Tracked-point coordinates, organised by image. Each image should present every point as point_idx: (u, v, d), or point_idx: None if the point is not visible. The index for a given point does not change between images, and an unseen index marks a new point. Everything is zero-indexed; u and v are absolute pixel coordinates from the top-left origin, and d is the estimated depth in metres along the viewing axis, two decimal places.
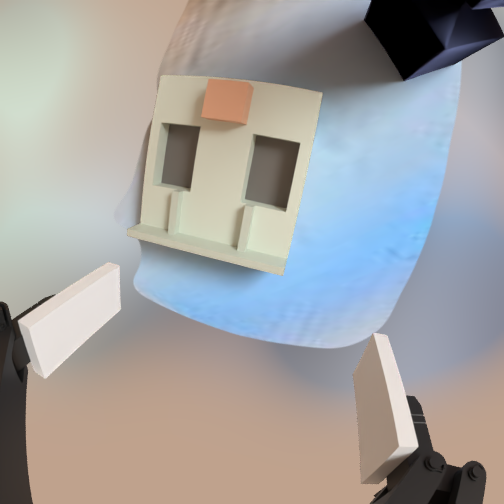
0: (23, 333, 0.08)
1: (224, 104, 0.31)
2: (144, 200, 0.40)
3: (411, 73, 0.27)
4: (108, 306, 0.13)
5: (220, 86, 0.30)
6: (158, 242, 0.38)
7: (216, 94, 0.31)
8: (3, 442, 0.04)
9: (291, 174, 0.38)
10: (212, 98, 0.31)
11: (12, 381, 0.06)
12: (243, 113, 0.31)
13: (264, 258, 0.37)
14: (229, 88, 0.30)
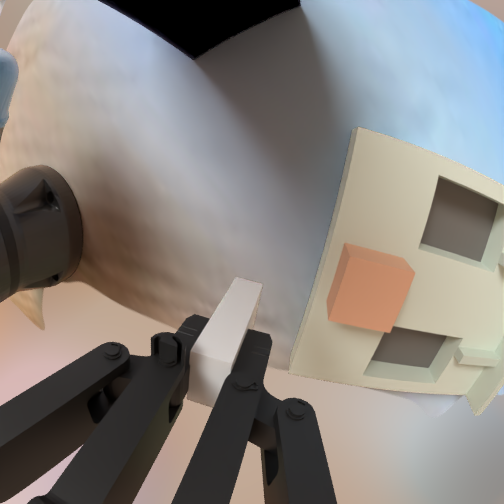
0: (194, 363, 0.10)
1: (380, 298, 0.19)
2: (446, 391, 0.24)
3: None
4: None
5: (346, 302, 0.19)
6: None
7: (359, 310, 0.19)
8: (116, 491, 0.04)
9: (463, 192, 0.20)
10: (365, 315, 0.19)
11: (159, 425, 0.07)
12: (400, 266, 0.18)
13: None
14: (354, 289, 0.19)
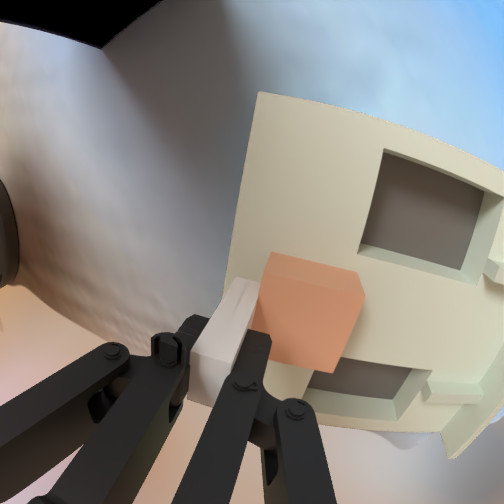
0: (194, 363, 0.10)
1: (313, 329, 0.14)
2: (413, 429, 0.19)
3: None
4: None
5: None
6: (488, 422, 0.14)
7: (284, 343, 0.15)
8: (117, 491, 0.04)
9: (431, 175, 0.15)
10: (294, 350, 0.15)
11: (159, 425, 0.07)
12: (343, 286, 0.14)
13: None
14: (275, 317, 0.14)
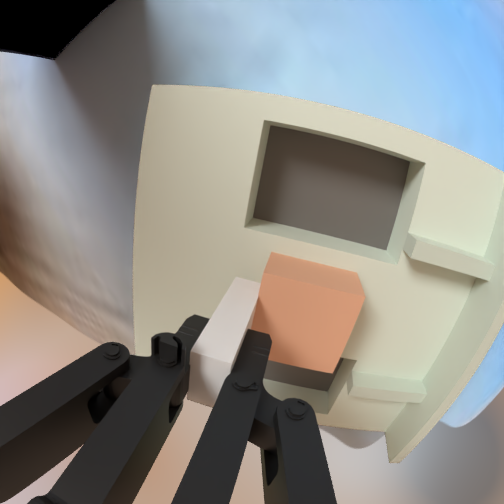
0: (194, 363, 0.10)
1: (313, 329, 0.14)
2: (350, 425, 0.20)
3: None
4: None
5: None
6: (432, 425, 0.14)
7: (284, 344, 0.15)
8: (116, 491, 0.04)
9: (338, 147, 0.16)
10: (294, 350, 0.15)
11: (159, 425, 0.07)
12: (343, 287, 0.14)
13: None
14: (275, 317, 0.14)
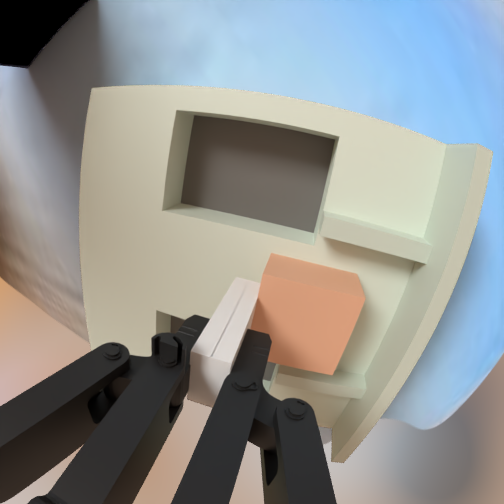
0: (195, 363, 0.10)
1: (313, 331, 0.14)
2: None
3: None
4: None
5: None
6: (371, 425, 0.15)
7: (284, 345, 0.14)
8: (117, 491, 0.04)
9: (258, 130, 0.17)
10: (294, 352, 0.14)
11: (159, 425, 0.07)
12: (343, 288, 0.13)
13: (450, 197, 0.12)
14: (275, 318, 0.14)
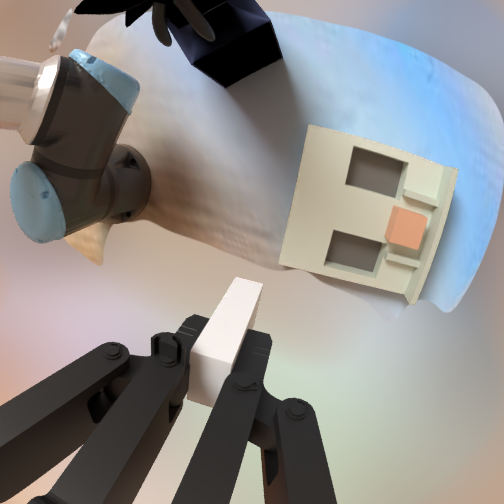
0: (194, 363, 0.10)
1: (412, 230, 0.37)
2: (386, 287, 0.44)
3: (279, 50, 0.35)
4: None
5: (397, 232, 0.38)
6: (425, 275, 0.38)
7: (403, 236, 0.38)
8: (116, 491, 0.04)
9: (376, 156, 0.40)
10: (406, 239, 0.38)
11: (159, 425, 0.07)
12: (420, 215, 0.37)
13: (444, 184, 0.35)
14: (401, 225, 0.38)
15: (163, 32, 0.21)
